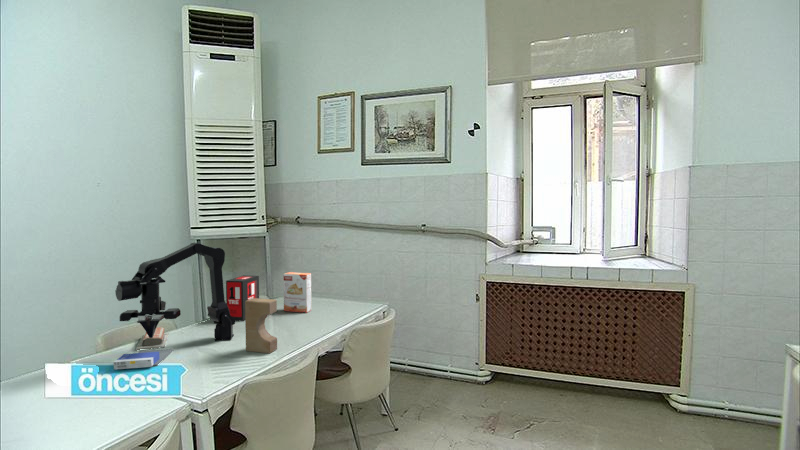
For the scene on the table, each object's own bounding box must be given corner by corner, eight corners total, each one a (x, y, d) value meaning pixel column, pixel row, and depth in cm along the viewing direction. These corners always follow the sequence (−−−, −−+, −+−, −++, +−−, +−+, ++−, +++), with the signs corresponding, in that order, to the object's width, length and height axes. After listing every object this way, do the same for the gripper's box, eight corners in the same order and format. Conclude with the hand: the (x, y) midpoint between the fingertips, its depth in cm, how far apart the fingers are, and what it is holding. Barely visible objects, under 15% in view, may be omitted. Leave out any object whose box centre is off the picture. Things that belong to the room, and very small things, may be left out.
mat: (173, 350, 158) (173, 348, 158) (157, 366, 142) (157, 364, 142) (140, 352, 156) (140, 350, 156) (119, 368, 140) (119, 366, 140)
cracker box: (283, 311, 218) (282, 273, 217) (289, 308, 224) (288, 271, 223) (306, 313, 214) (306, 274, 213) (311, 310, 220) (311, 272, 219)
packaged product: (142, 328, 173) (168, 325, 177) (142, 339, 173) (168, 336, 177) (135, 340, 157) (165, 336, 161) (135, 352, 157) (165, 348, 161)
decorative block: (277, 349, 159) (277, 299, 159) (269, 354, 154) (268, 302, 153) (254, 346, 163) (253, 297, 162) (245, 351, 157) (244, 300, 156)
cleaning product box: (243, 321, 199) (242, 281, 199) (226, 320, 201) (226, 280, 200) (259, 312, 216) (258, 275, 215) (243, 311, 217) (243, 275, 216)
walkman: (159, 358, 147) (123, 361, 145) (159, 351, 147) (122, 354, 145) (151, 367, 140) (112, 370, 137) (151, 359, 139) (112, 362, 137)
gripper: (185, 290, 158) (185, 329, 158) (132, 292, 154) (133, 332, 155) (174, 296, 147) (175, 338, 147) (118, 298, 143) (119, 341, 144)
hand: (151, 337), depth 149 cm, fingers closed
